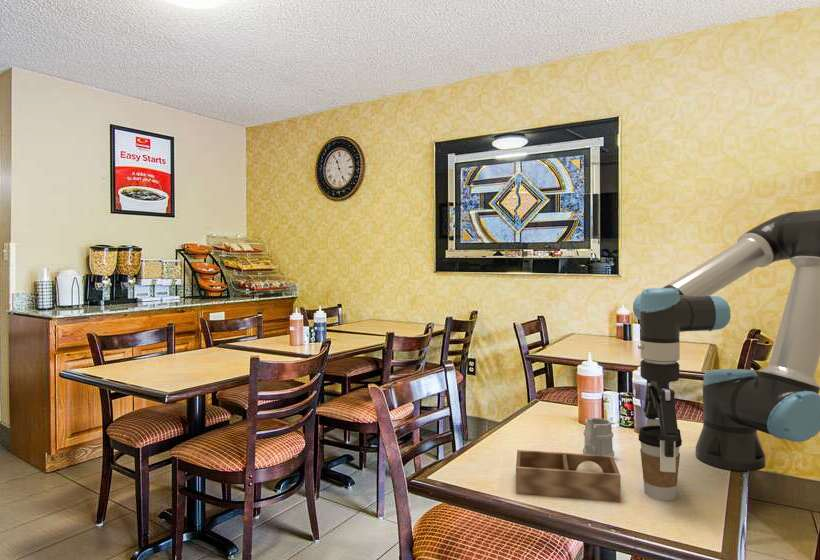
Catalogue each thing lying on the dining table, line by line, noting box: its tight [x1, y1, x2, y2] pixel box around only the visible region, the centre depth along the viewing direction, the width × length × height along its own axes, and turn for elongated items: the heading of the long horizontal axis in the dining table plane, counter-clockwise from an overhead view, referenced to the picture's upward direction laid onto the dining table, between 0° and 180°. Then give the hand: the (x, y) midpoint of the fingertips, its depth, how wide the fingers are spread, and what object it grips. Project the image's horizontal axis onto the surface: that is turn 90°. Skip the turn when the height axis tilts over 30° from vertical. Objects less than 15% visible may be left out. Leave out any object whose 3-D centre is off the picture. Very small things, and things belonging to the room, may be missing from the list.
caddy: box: [515, 449, 622, 503], centre depth 116 cm, size 21×11×6 cm, turn 77°
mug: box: [582, 417, 615, 458], centre depth 133 cm, size 8×12×12 cm, turn 142°
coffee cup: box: [637, 425, 683, 502], centre depth 112 cm, size 8×8×15 cm
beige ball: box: [576, 461, 603, 473], centre depth 115 cm, size 6×6×6 cm
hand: (659, 459), depth 112 cm, fingers open, 13 cm apart
